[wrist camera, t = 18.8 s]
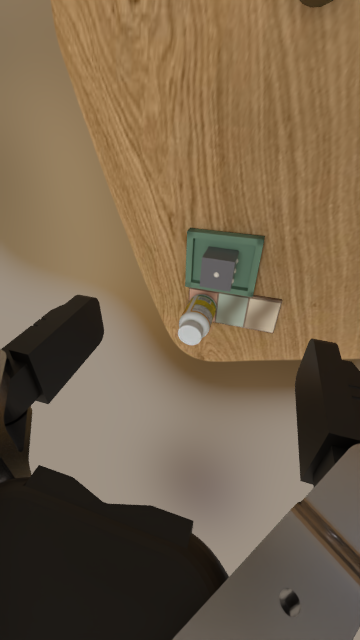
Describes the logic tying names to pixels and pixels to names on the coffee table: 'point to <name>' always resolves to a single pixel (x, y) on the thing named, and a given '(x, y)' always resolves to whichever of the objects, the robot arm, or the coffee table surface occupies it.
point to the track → (243, 310)
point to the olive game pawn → (315, 2)
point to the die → (218, 268)
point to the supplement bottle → (196, 319)
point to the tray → (244, 243)
